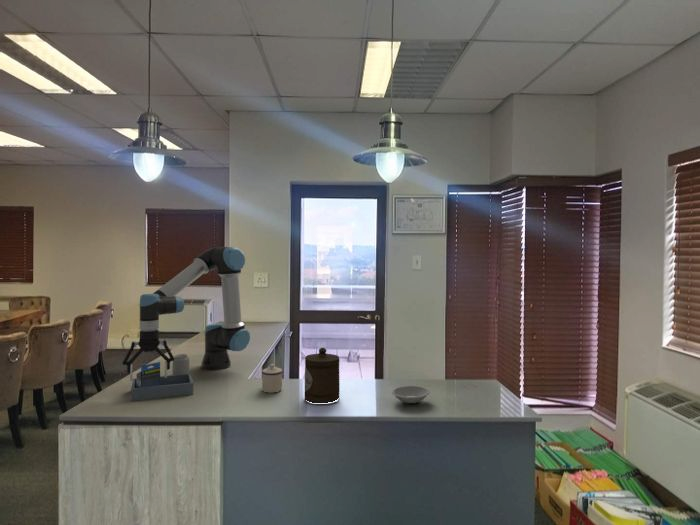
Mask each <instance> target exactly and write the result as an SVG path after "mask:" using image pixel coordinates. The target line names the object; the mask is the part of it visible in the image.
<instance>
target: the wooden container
mask: <svg viewBox="0 0 700 525" xmlns="http://www.w3.org/2000/svg"><path fill="white" fill-rule="evenodd" d="M338 398H339V399H340V357H339V356H338V355H336V354H333V353H327V348H325V347H320V348H319V349H318V353H311V354H308V355H306V356H305V357H304V401H305V400H307V401H309V402H312V403H328V402H333V401H335V400H337V399H338Z"/></svg>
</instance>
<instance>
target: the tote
mask: <svg viewBox="0 0 700 525" xmlns="http://www.w3.org/2000/svg"><path fill="white" fill-rule="evenodd" d="M130 392H131V393H130V394H131V395H130V401H131V402H138V401H137V400H140V401H144V400H143V399H148V400H154V399H153V398H157V399H164V398H163V397H166V398H172V396H175V397H184V396H191V395H194V381H193V378H192V375H191V373H189V374H179V375H173V374H171V375H167V378H165V375H160V386H152V387H143V388H137V377H136V378H132V381H131V390H130ZM183 395H184V396H183Z"/></svg>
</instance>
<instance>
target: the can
mask: <svg viewBox="0 0 700 525" xmlns="http://www.w3.org/2000/svg"><path fill="white" fill-rule="evenodd" d="M173 357H174V361H172V375H179V374H190V357H189V355H188V354H186V353H185V354H184V353H183V354H182V353H181V354H175V355H173Z"/></svg>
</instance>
